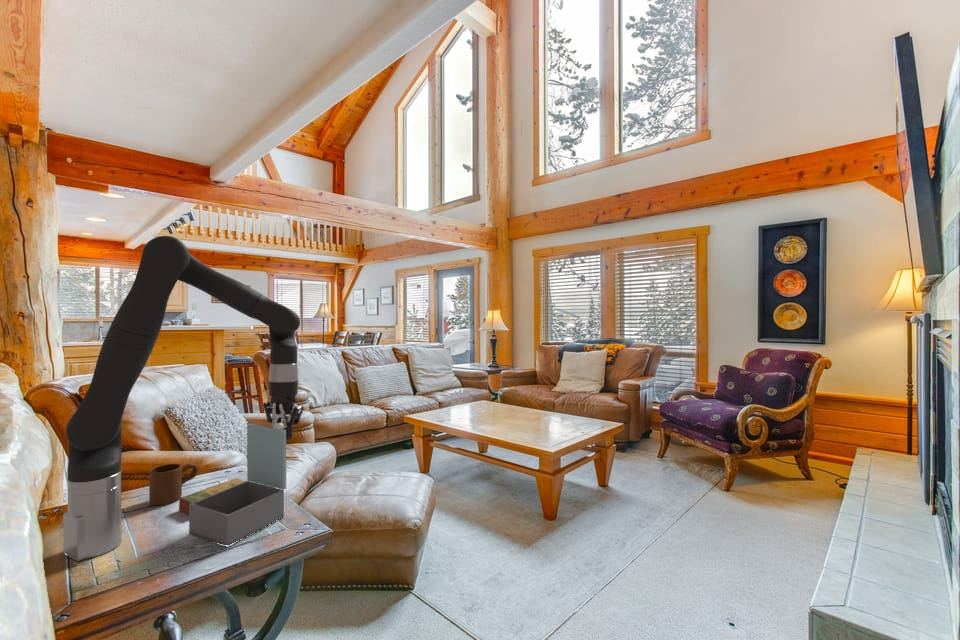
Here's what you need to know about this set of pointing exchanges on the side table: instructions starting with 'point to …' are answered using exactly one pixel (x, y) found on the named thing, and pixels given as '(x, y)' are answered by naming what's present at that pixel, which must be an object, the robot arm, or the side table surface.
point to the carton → (205, 494)
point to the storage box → (235, 512)
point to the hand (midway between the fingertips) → (282, 438)
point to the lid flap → (266, 455)
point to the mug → (168, 482)
